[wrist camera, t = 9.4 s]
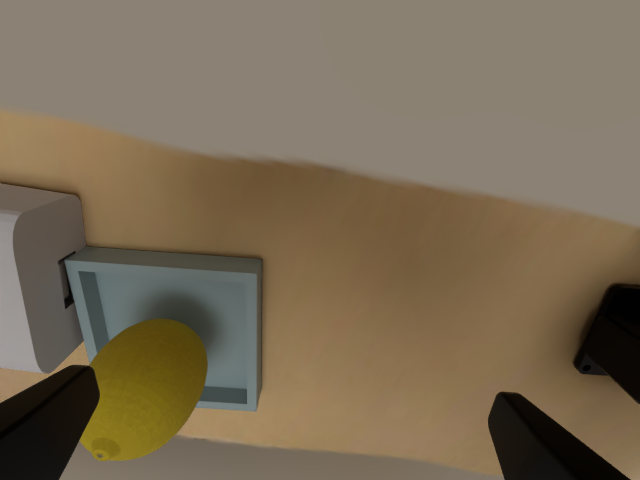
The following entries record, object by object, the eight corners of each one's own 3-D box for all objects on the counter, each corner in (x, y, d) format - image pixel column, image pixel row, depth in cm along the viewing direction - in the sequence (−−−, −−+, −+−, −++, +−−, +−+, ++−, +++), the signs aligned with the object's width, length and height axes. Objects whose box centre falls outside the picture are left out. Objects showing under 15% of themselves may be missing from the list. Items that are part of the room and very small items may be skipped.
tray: (262, 259, 19) (256, 273, 18) (261, 389, 23) (256, 411, 22) (86, 246, 19) (64, 260, 18) (115, 379, 23) (98, 401, 21)
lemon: (229, 303, 20) (174, 421, 12) (218, 372, 22) (164, 508, 15) (136, 283, 19) (20, 394, 12) (133, 355, 21) (33, 488, 14)
